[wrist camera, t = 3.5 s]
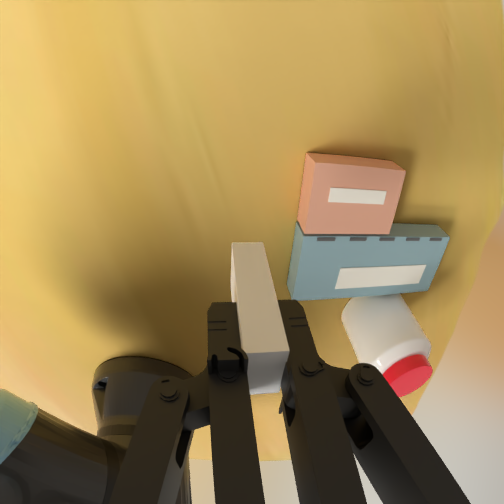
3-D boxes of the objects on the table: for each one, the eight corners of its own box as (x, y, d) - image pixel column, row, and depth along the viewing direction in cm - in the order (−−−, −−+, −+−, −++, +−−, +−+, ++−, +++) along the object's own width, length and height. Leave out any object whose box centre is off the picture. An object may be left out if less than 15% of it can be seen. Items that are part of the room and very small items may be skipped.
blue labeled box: (286, 284, 32) (292, 301, 30) (296, 221, 28) (303, 237, 26) (417, 277, 34) (428, 291, 32) (437, 224, 30) (450, 237, 28)
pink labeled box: (297, 219, 28) (304, 234, 26) (306, 152, 24) (315, 163, 22) (377, 220, 29) (389, 234, 27) (391, 160, 25) (406, 171, 23)
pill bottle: (328, 316, 35) (359, 397, 26) (379, 272, 33) (427, 349, 24) (363, 338, 39) (394, 408, 30) (409, 301, 36) (450, 368, 27)
